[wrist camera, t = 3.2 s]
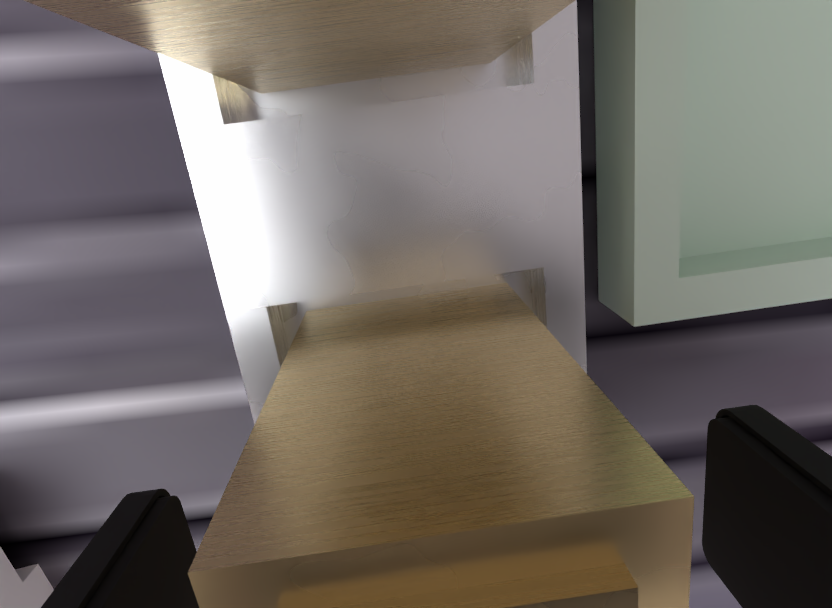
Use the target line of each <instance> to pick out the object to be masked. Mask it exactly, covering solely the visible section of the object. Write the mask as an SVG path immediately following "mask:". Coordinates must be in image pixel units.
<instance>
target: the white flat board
mask: <svg viewBox="0 0 832 608" xmlns="http://www.w3.org/2000/svg"><path fill="white" fill-rule="evenodd" d="M158 55H159V59H160V63H161V67H162V71H163V75H164V79H165V82H166V86H167V90H168V94H169V98H170V102H171V105H172V109H173V113H174V117H175V121H176V125H177V129H178V132H179V136H180V140H181V144H182V148H183V152H184V155H185V159H186V163H187V167H188V171H189V175H190V179H191V182H192V186H193V190H194V194H195V198H196V202H197V205H198V209H199V213H200V217H201V221H202V225H203V229H204V232H205V236H206V240H207V244H208V248H209V252H210V255H211V259H212V263H213V267H214V271H215V275H216V279H217V282H218V286H219V290H220V294H221V298H222V302H223V305H224V309H225V313H226V317H227V321H228V325H229V329H230V332H231V336H232V340H233V344H234V348H235V352H236V355H237V359H238V363H239V367H240V371H241V375H242V379H243V382H244V386H245V390H246V394H247V398H248V402H249V406H250V409H251V413H252V417H253V421H254V425H255V423H256V421H257V419H258V417H259V414H260V412H261V410H262V408H263V406H264V403H265V401H266V399H267V397H268V394H269V392H270V390H271V388H272V386H273V383H274V381H275V379H276V377H277V375H278V372H279V370H280V368H281V366H282V364H283V361H284V359H285V357H286V355H287V353H288V350H289V348H290V346H291V344H292V342H293V339H294V337H295V335H296V333H297V331H298V328H299V326H300V324H301V322H302V320H303V317H304V315H305V313H306V311H310V310H317V309H324V308H331V307H338V306H345V305H352V304H359V303H367V302H374V301H381V300H388V299H395V298H402V297H409V296H416V295H423V294H430V293H437V292H444V291H451V290H458V289H465V288H472V287H479V286H487V285H494V284H501V283H508V285H509V286H510V287H511V288H512V289H513V290H514V291H515V293H516V294H517V295H518V296H519V297H520V298H521V299H522V301H523V302H524V303H525V304H526V305H527V306H528V307H529V309H530V310H531V311H532V312H533V313H534V314H535V315H536V317H537V318H538V319H539V320H540V321H541V322H542V323H543V324H544V326H545V327H546V328H547V329H548V330H549V331H550V332H551V334H552V335H553V336H554V337H555V338H556V339H557V340H558V342H559V343H560V344H561V345H562V346H563V347H564V348H565V350H566V351H567V352H568V353H569V354H570V355H571V356H572V358H573V359H574V360H575V361H576V362H577V363H578V364H579V366H580V367H581V368H582V369H583V370H584V371H585V372H586V374H587V359H586V322H585V285H584V248H583V211H582V174H581V137H580V100H579V63H578V26H577V0H575V1H574V2H573V3H571V4H570V5H568V6H567V7H566V8H564V9H563V10H562V11H560V12H559V13H558V14H556V15H555V16H553V17H552V18H551V19H549V20H548V21H547V22H545V23H544V24H543V25H541V26H540V27H539V28H537V29H536V30H534V31H533V32H532V33H530V34H529V35H528V36H526V37H525V38H524V39H522V40H521V41H519V42H518V43H517V44H515V45H514V46H513V47H511V48H510V49H509V50H507V51H506V52H504V53H503V54H502V55H500V56H499V57H498V58H496V59H495V60H494V61H492V62H491V63H487V64H479V65H472V66H464V67H457V68H449V69H442V70H434V71H427V72H419V73H412V74H404V75H397V76H389V77H382V78H374V79H367V80H359V81H352V82H344V83H337V84H329V85H322V86H314V87H307V88H299V89H292V90H284V91H277V92H269V93H262V94H261V93H259V92H256V91H253V90H251V89H248V88H246V87H243V86H241V85H238V84H236V83H233V82H231V81H228V80H225V79H223V78H220V77H218V76H215V75H213V74H210V73H208V72H205V71H203V70H200V69H197V68H195V67H192V66H190V65H187V64H185V63H182V62H180V61H177V60H175V59H172V58H169V57H167V56H164V55H162V54H159V53H158Z"/></svg>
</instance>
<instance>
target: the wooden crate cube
mask: <svg viewBox="0 0 832 608" xmlns="http://www.w3.org/2000/svg"><path fill="white" fill-rule="evenodd" d="M693 510H694V496H693V495H692V494H691V492H690V491H689V490H688V489H687V488H686V487H685V486H684V484H683V483H682V482H681V481H680V480H679V479H678V478H677V476H676V475H675V474H674V473H673V472H672V471H671V470H670V468H669V467H668V466H667V465H666V464H665V463H664V462H663V460H662V459H661V458H660V457H659V456H658V455H657V454H656V452H655V451H654V450H653V449H652V448H651V447H650V446H649V444H648V443H647V442H646V441H645V440H644V439H643V438H642V436H641V435H640V434H639V433H638V432H637V431H636V430H635V428H634V427H633V426H632V425H631V424H630V423H629V422H628V420H627V419H626V418H625V417H624V416H623V415H622V414H621V412H620V411H619V410H618V409H617V408H616V407H615V406H614V404H613V403H612V402H611V401H610V400H609V399H608V398H607V396H606V395H605V394H604V393H603V392H602V391H601V390H600V388H599V387H598V386H597V385H596V384H595V383H594V382H593V380H592V379H591V378H590V377H589V376H588V375H587V374H586V372H585V371H584V370H583V369H582V368H581V367H580V366H579V364H578V363H577V362H576V361H575V360H574V359H573V358H572V356H571V355H570V354H569V353H568V352H567V351H566V350H565V348H564V347H563V346H562V345H561V344H560V343H559V342H558V340H557V339H556V338H555V337H554V336H553V335H552V334H551V332H550V331H549V330H548V329H547V328H546V327H545V326H544V324H543V323H542V322H541V321H540V320H539V319H538V318H537V317H536V315H535V314H534V313H533V312H532V311H531V310H530V309H529V307H528V306H527V305H526V304H525V303H524V302H523V301H522V299H521V298H520V297H519V296H518V295H517V294H516V293H515V291H514V290H513V289H512V288H511V287H510V286H509V285H508V283H501V284H494V285H487V286H479V287H472V288H465V289H458V290H451V291H444V292H437V293H430V294H423V295H416V296H409V297H402V298H395V299H388V300H381V301H374V302H367V303H359V304H352V305H345V306H338V307H331V308H324V309H317V310H310V311H306V313H305V315H304V317H303V320H302V322H301V324H300V326H299V328H298V331H297V333H296V335H295V337H294V339H293V342H292V344H291V346H290V348H289V350H288V353H287V355H286V357H285V359H284V361H283V364H282V366H281V368H280V370H279V372H278V375H277V377H276V379H275V381H274V383H273V386H272V388H271V390H270V392H269V394H268V397H267V399H266V401H265V403H264V406H263V408H262V410H261V412H260V414H259V417H258V419H257V421H256V423H255V425H254V428H253V430H252V432H251V434H250V436H249V439H248V441H247V443H246V445H245V447H244V450H243V452H242V454H241V456H240V458H239V461H238V463H237V465H236V467H235V469H234V472H233V474H232V476H231V478H230V480H229V483H228V485H227V487H226V489H225V491H224V494H223V496H222V498H221V500H220V502H219V505H218V507H217V509H216V511H215V513H214V516H213V518H212V520H211V522H210V525H209V527H208V529H207V531H206V533H205V536H204V538H203V540H202V542H201V544H200V547H199V549H198V551H197V553H196V555H195V558H194V560H193V562H192V564H191V566H190V569H189V571H188V576H189V579H190V582H191V585H192V587H193V590H194V593H195V596H196V599H197V602H198V605H199V608H689V591H690V570H691V550H692V530H693Z"/></svg>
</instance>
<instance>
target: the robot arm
mask: <svg viewBox="0 0 832 608" xmlns="http://www.w3.org/2000/svg"><path fill="white" fill-rule="evenodd" d="M702 546H703V550H704V553H705V556H706V558H707V561H708V562H709V564H710V566H711V567H712V568H713V570H714V571H715V572H716V574H717V575H718V576H719V578H720V579H721V580H722V581H723V583H724V584H725V585H726V587H727V588H728V589H729V591H730V592H731V593H732V595H733V596H734V597H735V598H736V600H737V601H738V602H739V604H740V605H741V606H742V608H832V457H831V456H830V455H828V454H827V453H826V452H824V451H823V450H821V449H820V448H819V447H817V446H816V445H814V444H813V443H811V442H810V441H809V440H807V439H806V438H804V437H803V436H801V435H800V434H799V433H797V432H796V431H794V430H793V429H791V428H790V427H789V426H787V425H786V424H784V423H783V422H782V421H780V420H779V419H777V418H776V417H774V416H773V415H772V414H770V413H769V412H767V411H766V410H764V409H763V408H761V407H759V406H757V405H749V406H742V407H735V408H728V409H722V410H720V411H719V412H718V413H717V415H716V419H713V420H711V421H710V422H709V425H708V435H707V455H706V475H705V495H704V515H703V535H702ZM196 553H197V552H196V549H195V545H194V542H193V539H192V536H191V533H190V530H189V527H188V524H187V521H186V518H185V514H184V511H183V508H182V505H181V502H180V500H179V498H178V497H177V496H170V494H169V493H168V492H167V491H166V490H165V489H156V490H149V491H142V492H135V493H130V494H127V495H126V496H125V497H124V498H123V499H122V501H121V502H120V503H119V505H118V506H117V507H116V508H115V510H114V511H113V512H112V514H111V515H110V516H109V518H108V519H107V520H106V522H105V523H104V524H103V526H102V527H101V528H100V530H99V531H98V532H97V534H96V535H95V536H94V538H93V539H92V540H91V542H90V543H89V544H88V546H87V547H86V548H85V550H84V551H83V552H82V554H81V555H80V556H79V558H78V559H77V560H76V561H75V563H74V564H73V565H72V567H71V568H70V569H69V571H68V572H67V573H66V575H65V576H64V577H63V579H62V580H61V581H60V583H59V584H58V585H57V587H56V588H55V589H54V591H53V592H52V593H51V595H50V596H49V597H48V599H47V600H46V601H45V603H44V604H43V605H42V607H41V608H199V605H198V602H197V599H196V596H195V593H194V590H193V587H192V585H191V582H190V579H189V576H188V571H189V569H190V566H191V564H192V562H193V560H194V558H195V555H196Z"/></svg>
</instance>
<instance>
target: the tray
mask: <svg viewBox="0 0 832 608" xmlns="http://www.w3.org/2000/svg"><path fill="white" fill-rule="evenodd" d="M593 22H594V76H595V131H596V186H597V241H598V296H599V301H600V302H601V303H603V304H604V305H605V306H607V307H608V308H609V309H611V310H612V311H613V312H615V313H616V314H617V315H619V316H620V317H621V318H623V319H624V320H626V321H627V322H628V323H630V324H631V325H632V326H634V327H636V326H643V325H650V324H657V323H664V322H671V321H677V320H684V319H691V318H698V317H705V316H712V315H719V314H726V313H733V312H740V311H747V310H754V309H761V308H768V307H775V306H782V305H789V304H796V303H802V302H809V301H816V300H823V299H830V298H832V0H593Z"/></svg>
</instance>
